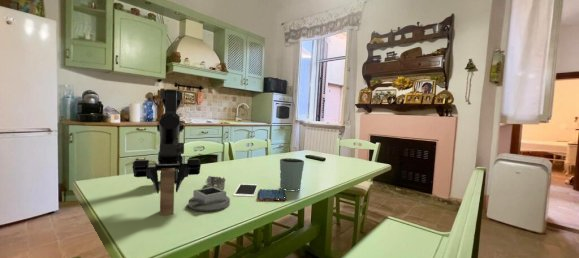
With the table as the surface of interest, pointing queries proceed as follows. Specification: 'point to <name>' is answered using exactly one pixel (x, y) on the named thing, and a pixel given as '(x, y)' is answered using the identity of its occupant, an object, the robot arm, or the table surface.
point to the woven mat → (271, 194)
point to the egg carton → (215, 182)
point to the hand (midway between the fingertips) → (167, 192)
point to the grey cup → (291, 173)
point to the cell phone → (246, 190)
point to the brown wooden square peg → (167, 191)
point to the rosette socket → (209, 200)
